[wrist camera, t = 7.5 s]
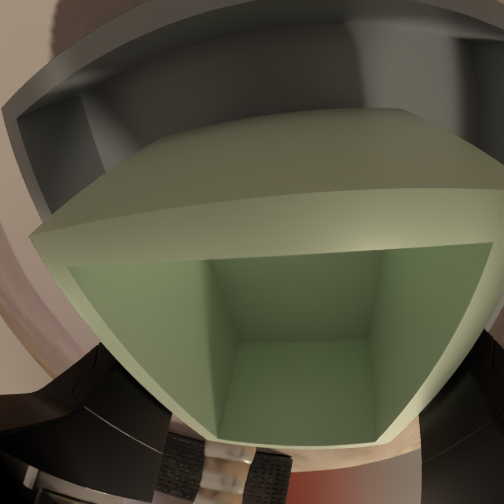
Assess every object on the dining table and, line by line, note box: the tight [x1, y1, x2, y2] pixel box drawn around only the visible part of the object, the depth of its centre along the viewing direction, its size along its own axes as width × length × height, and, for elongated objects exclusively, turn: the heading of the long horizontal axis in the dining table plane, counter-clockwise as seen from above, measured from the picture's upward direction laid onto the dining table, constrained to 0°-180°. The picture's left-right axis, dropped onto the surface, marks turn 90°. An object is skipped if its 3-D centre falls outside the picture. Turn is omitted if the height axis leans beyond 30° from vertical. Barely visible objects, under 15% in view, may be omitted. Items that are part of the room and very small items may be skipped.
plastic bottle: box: [193, 439, 256, 504], centre depth 22 cm, size 6×7×20 cm
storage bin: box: [155, 432, 293, 504], centre depth 40 cm, size 29×19×13 cm
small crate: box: [29, 108, 504, 449], centre depth 7 cm, size 6×9×5 cm
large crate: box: [1, 0, 504, 332], centre depth 9 cm, size 16×16×4 cm
